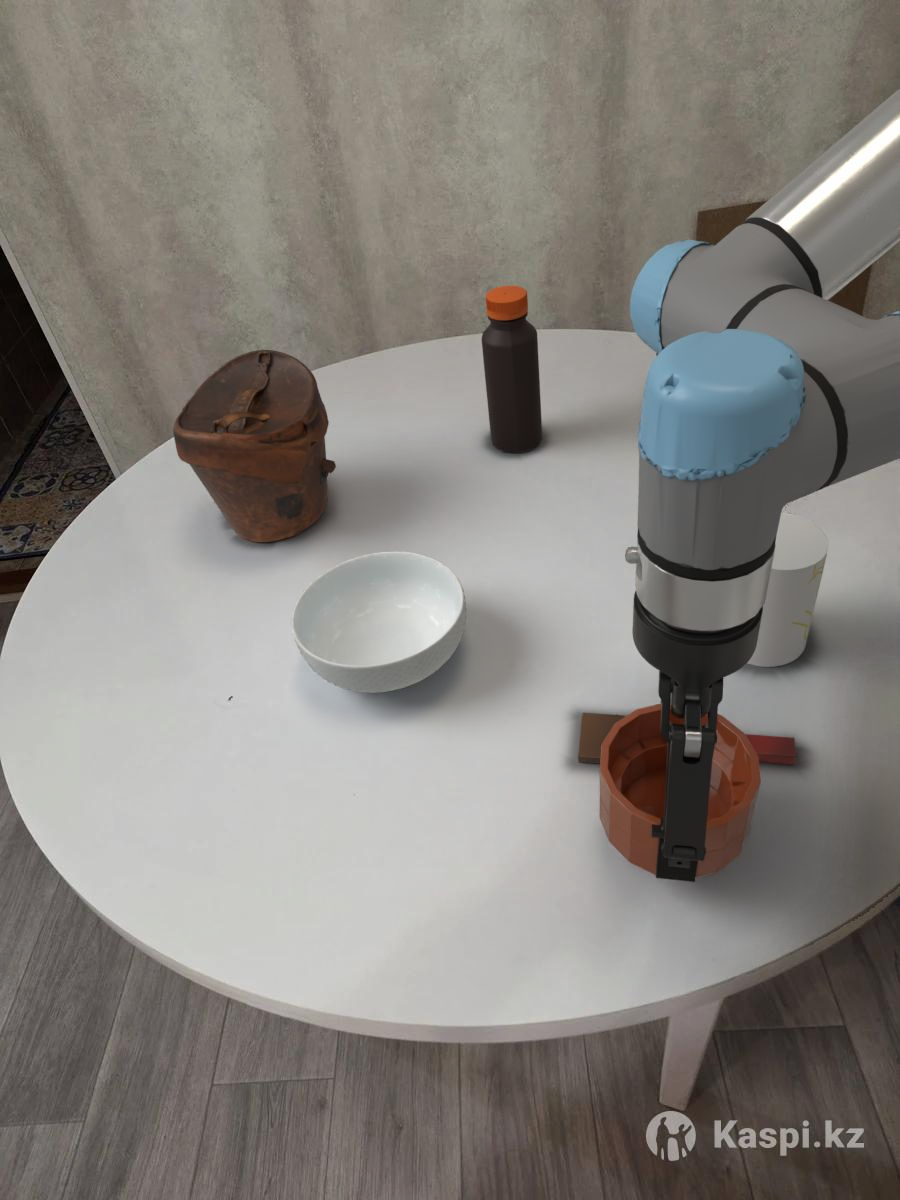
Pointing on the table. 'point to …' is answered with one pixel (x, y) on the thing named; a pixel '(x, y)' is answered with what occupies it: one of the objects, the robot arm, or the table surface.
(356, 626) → the cereal bowl
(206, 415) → the case
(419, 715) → the table surface
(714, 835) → the bowl
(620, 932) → the table surface
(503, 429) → the bottle
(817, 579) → the white cylinder
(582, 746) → the spatula
